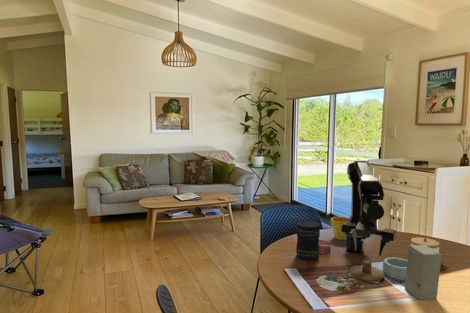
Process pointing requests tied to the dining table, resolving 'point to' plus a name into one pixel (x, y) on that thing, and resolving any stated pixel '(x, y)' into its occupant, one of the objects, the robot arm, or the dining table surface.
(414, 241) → the lidded jar
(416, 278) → the skincare box
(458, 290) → the dining table surface
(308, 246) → the storage jar
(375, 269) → the lid
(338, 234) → the plant pot
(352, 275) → the grey flat square slab
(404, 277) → the bowl
